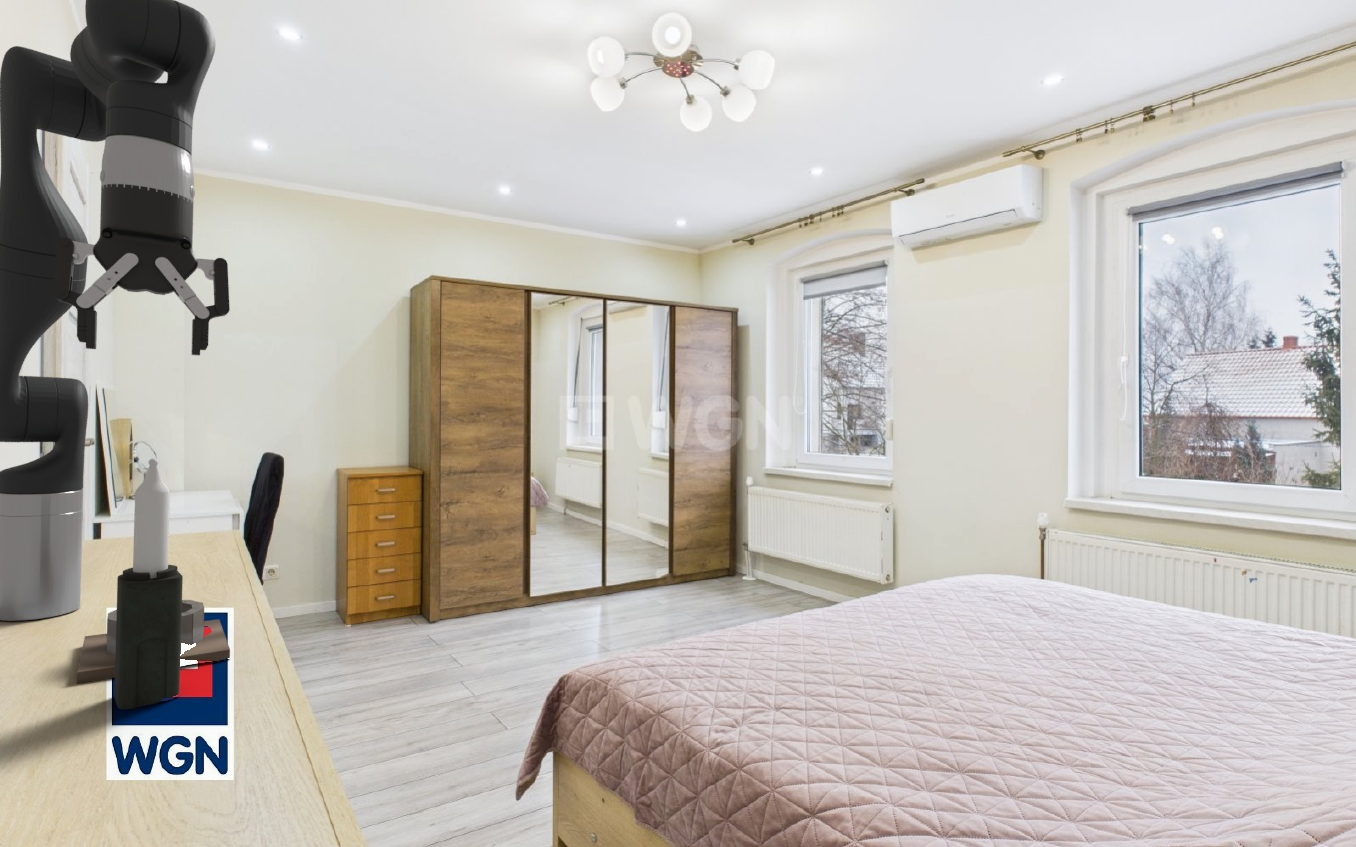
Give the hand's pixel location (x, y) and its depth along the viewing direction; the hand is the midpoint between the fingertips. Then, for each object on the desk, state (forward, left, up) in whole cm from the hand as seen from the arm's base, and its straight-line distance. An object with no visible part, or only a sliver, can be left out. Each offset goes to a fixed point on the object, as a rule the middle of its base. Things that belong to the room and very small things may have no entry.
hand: (144, 352), depth 72 cm
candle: (0, +1, -36) cm, 36 cm away
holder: (-15, +2, -36) cm, 39 cm away
